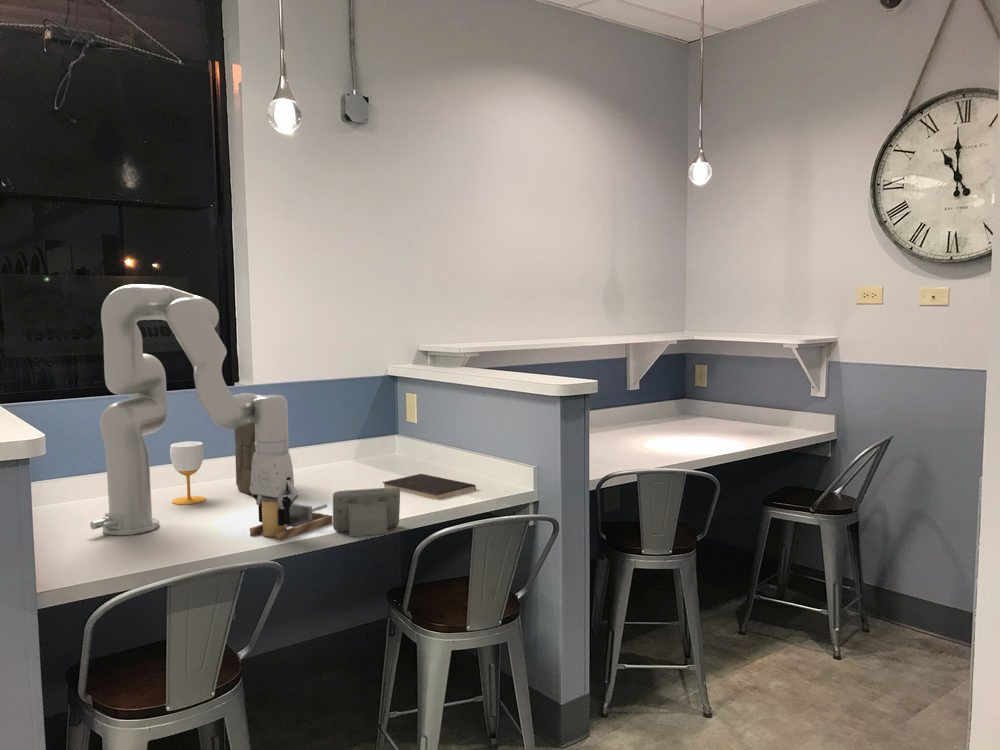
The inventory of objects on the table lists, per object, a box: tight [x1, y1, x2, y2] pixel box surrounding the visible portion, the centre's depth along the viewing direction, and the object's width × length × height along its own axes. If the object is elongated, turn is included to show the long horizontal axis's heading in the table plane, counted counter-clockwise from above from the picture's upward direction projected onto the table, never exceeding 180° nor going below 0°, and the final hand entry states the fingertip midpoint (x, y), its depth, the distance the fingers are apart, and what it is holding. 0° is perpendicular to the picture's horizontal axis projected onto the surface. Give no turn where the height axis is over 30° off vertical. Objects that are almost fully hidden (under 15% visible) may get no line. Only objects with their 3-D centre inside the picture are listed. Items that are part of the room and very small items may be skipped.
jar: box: [261, 496, 288, 538], centre depth 194 cm, size 6×6×9 cm
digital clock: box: [332, 487, 401, 538], centre depth 196 cm, size 16×9×11 cm, turn 94°
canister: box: [234, 423, 256, 497], centre depth 235 cm, size 19×8×25 cm, turn 41°
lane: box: [249, 512, 333, 541], centre depth 199 cm, size 18×10×2 cm, turn 150°
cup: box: [169, 441, 207, 506], centre depth 227 cm, size 9×9×16 cm
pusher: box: [288, 502, 328, 526], centre depth 205 cm, size 10×7×5 cm
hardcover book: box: [382, 473, 477, 500], centre depth 240 cm, size 16×23×2 cm
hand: (274, 521), depth 194 cm, fingers closed on jar, 5 cm apart
